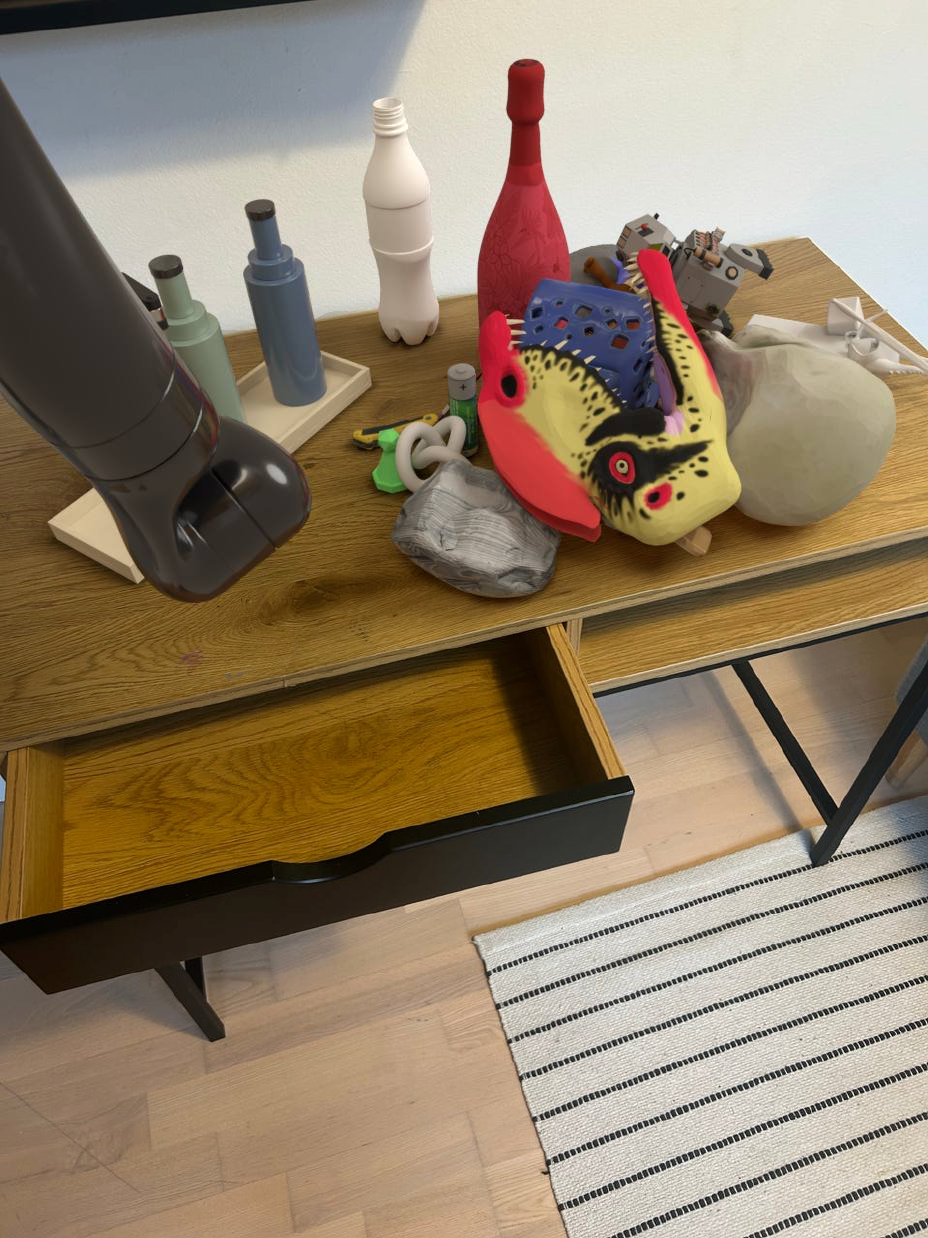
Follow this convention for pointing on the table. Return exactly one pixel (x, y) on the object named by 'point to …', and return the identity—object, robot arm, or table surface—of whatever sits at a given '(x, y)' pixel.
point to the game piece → (388, 464)
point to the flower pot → (597, 334)
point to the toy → (609, 427)
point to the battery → (464, 403)
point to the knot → (428, 448)
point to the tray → (289, 426)
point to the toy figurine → (605, 279)
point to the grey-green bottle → (197, 336)
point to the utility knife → (371, 435)
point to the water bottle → (400, 228)
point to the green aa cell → (447, 408)
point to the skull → (797, 423)
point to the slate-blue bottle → (282, 311)
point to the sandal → (684, 538)
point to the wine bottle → (521, 212)
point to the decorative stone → (476, 534)
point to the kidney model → (605, 260)
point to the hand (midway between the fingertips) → (31, 290)
